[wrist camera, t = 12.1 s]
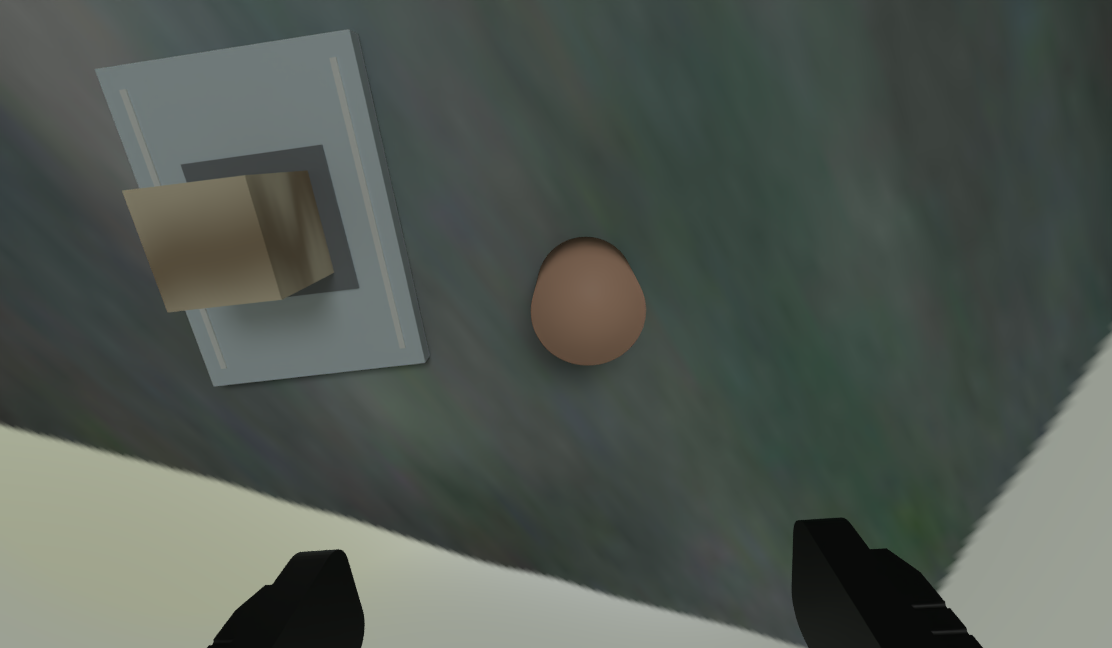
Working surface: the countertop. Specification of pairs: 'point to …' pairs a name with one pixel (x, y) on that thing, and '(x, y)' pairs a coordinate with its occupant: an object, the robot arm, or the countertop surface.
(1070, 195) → the countertop surface
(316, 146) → the base
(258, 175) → the birch cube
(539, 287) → the terracotta cylinder
